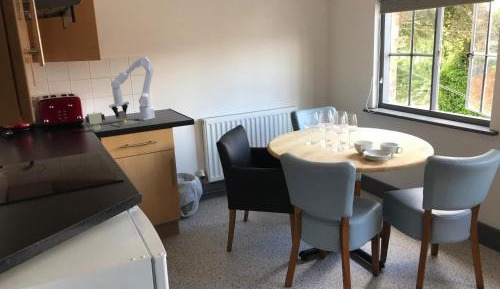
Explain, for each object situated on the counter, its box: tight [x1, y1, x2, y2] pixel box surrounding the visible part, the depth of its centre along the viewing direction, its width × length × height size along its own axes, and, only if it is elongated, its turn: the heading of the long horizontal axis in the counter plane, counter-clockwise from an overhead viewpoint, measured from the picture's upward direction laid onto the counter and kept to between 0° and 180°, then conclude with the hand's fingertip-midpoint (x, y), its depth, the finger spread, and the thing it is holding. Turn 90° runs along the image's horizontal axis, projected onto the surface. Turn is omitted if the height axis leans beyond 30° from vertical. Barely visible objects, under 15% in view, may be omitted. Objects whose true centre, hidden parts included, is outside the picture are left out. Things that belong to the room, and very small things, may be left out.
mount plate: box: [111, 118, 140, 128], centre depth 281 cm, size 14×12×4 cm
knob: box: [115, 110, 128, 120], centre depth 289 cm, size 5×5×5 cm
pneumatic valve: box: [84, 111, 106, 132], centre depth 267 cm, size 6×12×12 cm, turn 116°
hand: (121, 116), depth 289 cm, fingers closed on knob, 5 cm apart
